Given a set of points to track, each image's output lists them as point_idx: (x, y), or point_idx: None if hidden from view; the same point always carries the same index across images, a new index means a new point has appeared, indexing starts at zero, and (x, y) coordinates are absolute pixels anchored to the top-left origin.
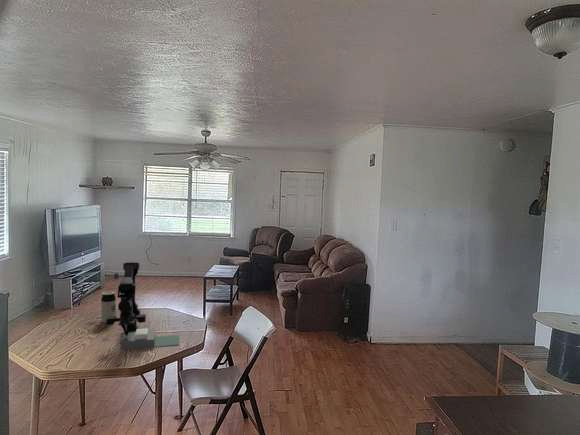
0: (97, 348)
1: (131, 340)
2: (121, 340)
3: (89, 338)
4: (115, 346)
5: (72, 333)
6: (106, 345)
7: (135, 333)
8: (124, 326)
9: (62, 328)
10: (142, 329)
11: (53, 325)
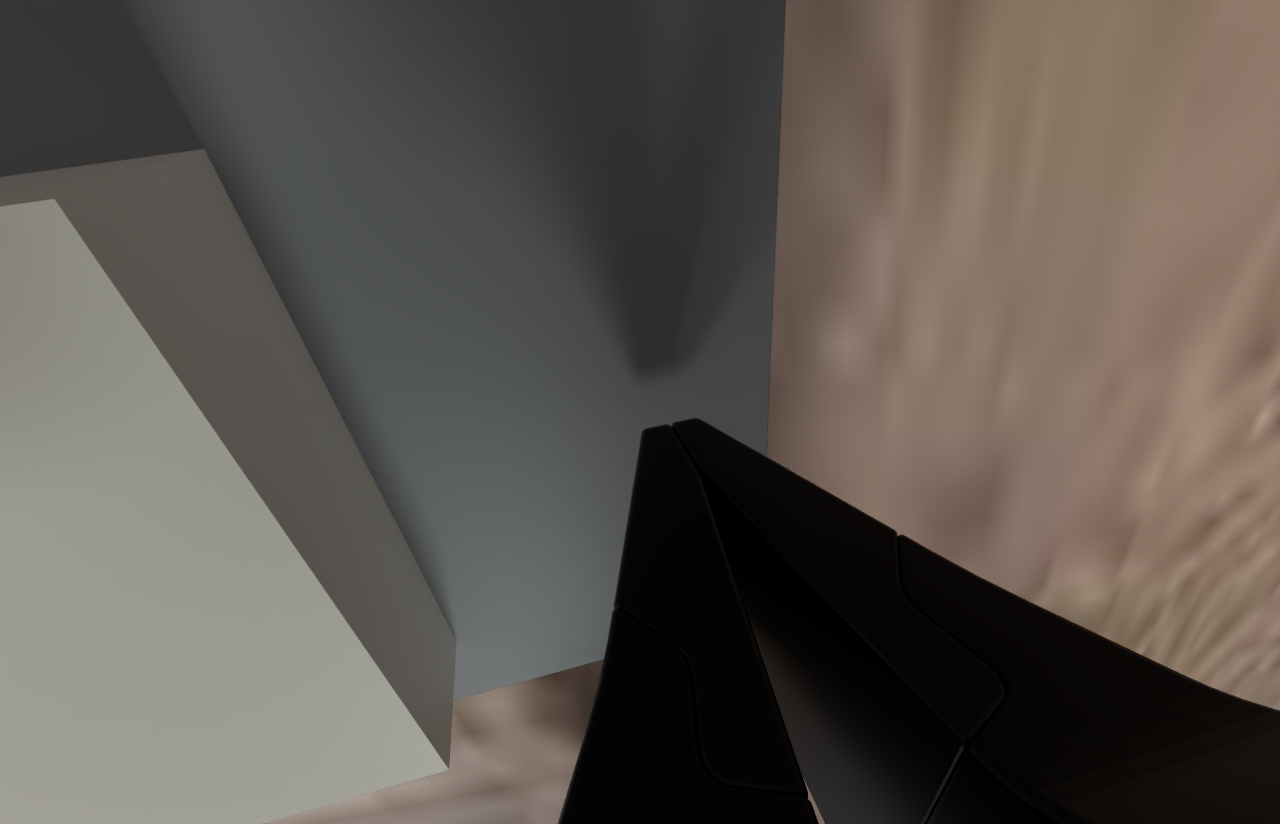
0: (1159, 135)
1: (325, 31)
2: (779, 100)
3: (1129, 523)
4: (831, 220)
5: (1217, 606)
6: (986, 287)
7: (230, 459)
8: (1083, 777)
9: (1234, 668)
10: (204, 792)
11: (1258, 693)
